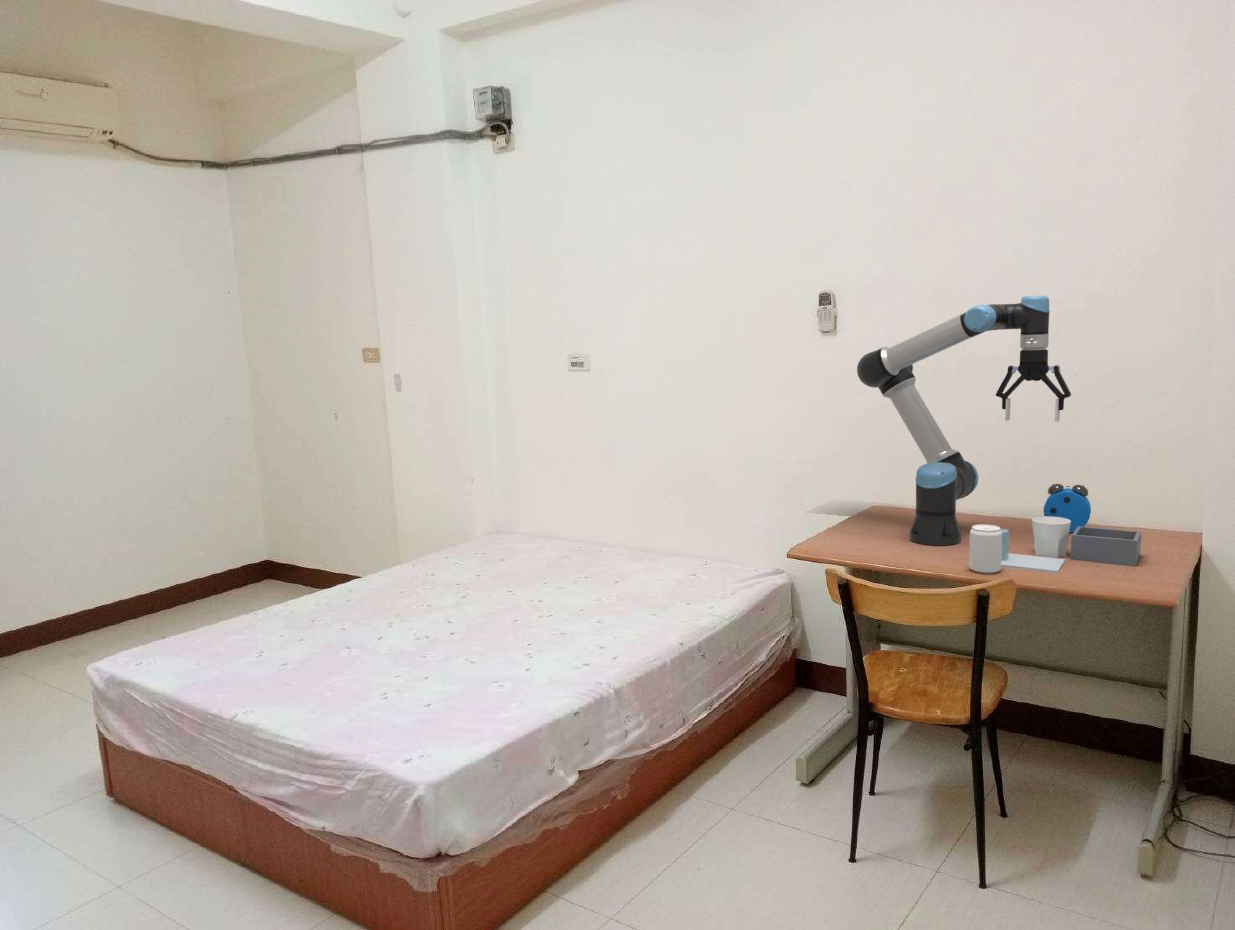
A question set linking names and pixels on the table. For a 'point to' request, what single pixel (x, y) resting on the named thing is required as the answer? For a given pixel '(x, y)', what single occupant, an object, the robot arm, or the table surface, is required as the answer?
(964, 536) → the table surface
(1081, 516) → the alarm clock
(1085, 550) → the tub
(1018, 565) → the pale blue stand
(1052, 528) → the cup
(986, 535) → the beverage can
